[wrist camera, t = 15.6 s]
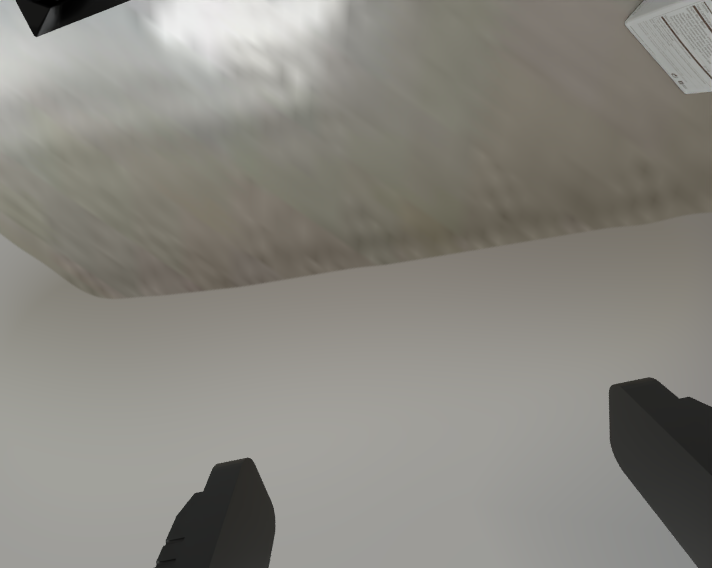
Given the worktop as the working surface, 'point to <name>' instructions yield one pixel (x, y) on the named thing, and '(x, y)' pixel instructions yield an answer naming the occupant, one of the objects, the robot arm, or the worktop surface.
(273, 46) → the worktop surface
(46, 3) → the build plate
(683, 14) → the supplement box
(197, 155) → the worktop surface
